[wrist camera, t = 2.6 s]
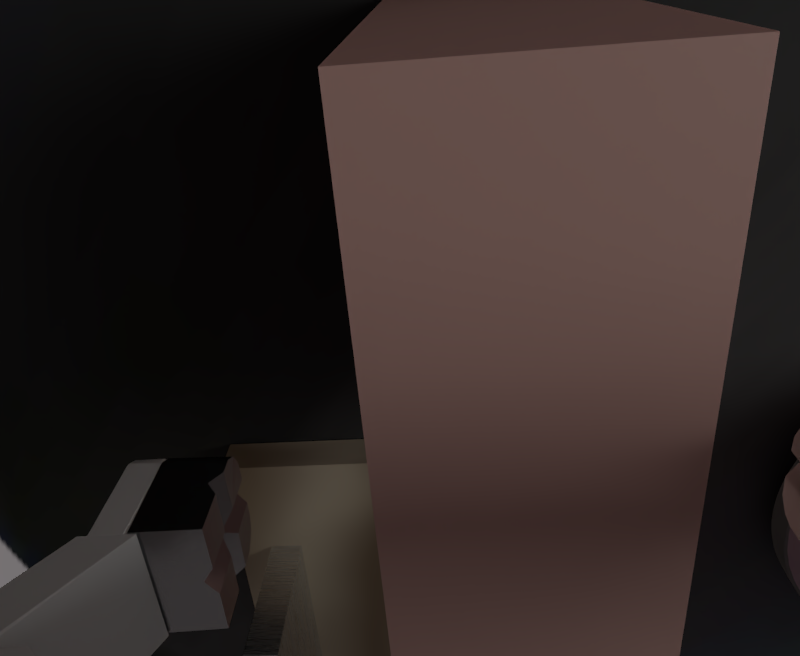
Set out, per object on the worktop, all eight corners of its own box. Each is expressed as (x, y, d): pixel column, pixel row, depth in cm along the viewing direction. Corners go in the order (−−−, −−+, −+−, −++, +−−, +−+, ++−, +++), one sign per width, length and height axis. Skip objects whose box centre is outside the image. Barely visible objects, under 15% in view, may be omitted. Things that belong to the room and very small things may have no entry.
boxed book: (564, -18, 20) (784, 30, 8) (553, 351, 26) (670, 726, 13) (383, -4, 20) (314, 66, 8) (412, 358, 26) (397, 729, 14)
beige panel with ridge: (537, 431, 27) (566, 560, 21) (533, 685, 34) (554, 833, 28) (230, 444, 28) (179, 571, 22) (287, 689, 35) (260, 834, 29)
